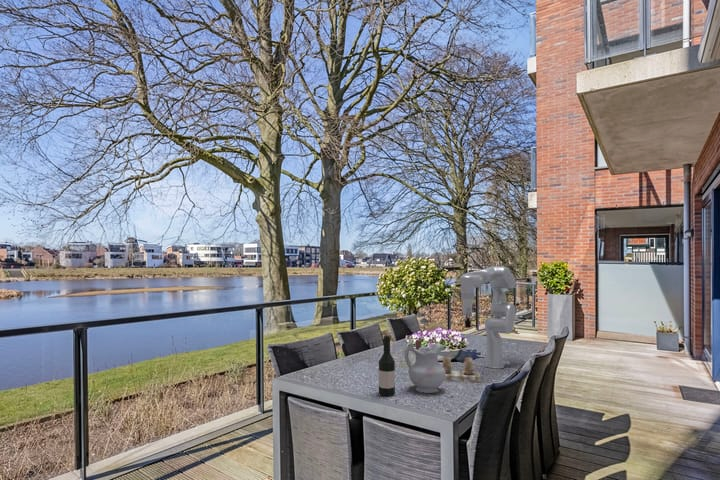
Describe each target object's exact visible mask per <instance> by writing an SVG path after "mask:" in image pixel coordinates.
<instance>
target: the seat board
mask: <svg viewBox="0 0 720 480" xmlns="http://www.w3.org/2000/svg"><path fill="white" fill-rule="evenodd" d="M451 361H452V359H451V356H443V357H442V366H443V368H444V369H445V379H444V382H461V383H462V382H463V383H481V382H482V380H481V379H482V378H481V374H480V372H479V371H473V375H465V370H452V368H451V367H452V366H451V365H452V362H451Z"/></svg>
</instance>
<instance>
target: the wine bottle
mask: <svg viewBox="0 0 720 480" xmlns="http://www.w3.org/2000/svg"><path fill="white" fill-rule="evenodd" d="M395 365H396V362H395V359H394V357H393V355H392V354H391V337H390V335H389V334H384V336H383V354H382V356H381V357H380V358H379V360H378V395H379V394H380V395H381V397H384V396H385V397H386V398H391V397H394V396H395V395H394V394H396V381H395V380H396V366H395ZM380 395H379V396H380ZM390 396H391V397H390Z"/></svg>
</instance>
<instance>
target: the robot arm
mask: <svg viewBox="0 0 720 480" xmlns="http://www.w3.org/2000/svg"><path fill="white" fill-rule="evenodd" d="M459 283H460V294H461V295H460V298H461V300H462V316H464V327H465V328H466V329H467V328H469V329H470V328H471V326H472V324H471V323H472V321H471V316H473V300H474V299H475V288H481V287H483V285H484V284H487V283H489V285H490V286H489V287H490V289H491V291H492V299H491V305H490V309H489V311H490V314H491V316H492V317H491V316H490V317H488V318H486V319H485V321H484V329H485V333H486V335H485V336H486V362H485V363H484V364H483V365H484V367H485V368H489V369H504V368H505V365H511V362H510V361H507V360H504V359H503V341H502V336H501V334H506V335H507V334H510V333H512V332H513V330H514V329H513V328H514V324H515V319H516V313H517V312H516V310H517V309H516V306H515V305H514V303H511V302H507V294H506V293H505V291H504V290H503V289H514V288H515V286H517V285H516V284H517V282H516V278H515V277H514V275H513V273H512V272H511V271H510V269H509V268H508V267H506V266H503V265H502V266H501V265H500V266H496V265H495V266H488V267H487V268H484V269H480V270H475V271H471V272H466V273H464V274H462V275H461V276H460V277H459Z"/></svg>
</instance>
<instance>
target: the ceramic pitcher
mask: <svg viewBox="0 0 720 480" xmlns="http://www.w3.org/2000/svg"><path fill="white" fill-rule="evenodd" d="M444 350H445V348H444V345H442V344H438V343H435V342H434V343H432V344H430V345H429V346H424V345H421V347H420V348H419V350H417V349H416V347H414V343H408V344H407V346H406V347H405V349H404V360H405V363H406V366H407V367H408V375H409V376H408V377H409V380H410V381H411V383H412V384H413V385H414V386H415V387H416V388H415V391H416V392H418V391H420V392H419V393H422V392H424V393H423V394H431V393H432V394H433V393H439V392H441V390H440V389H439V388H438V387H440V386H442V385H443V383H444V382H445V381H444V379H445V369H444V368H443V364H440V363H439V361H438V357H439V353H440V352H442V351H444ZM411 351H412V352H413V353H414V354H415V362H414V363H413V364H411V361H410V360H411V359H410V358H409V352H411Z"/></svg>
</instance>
